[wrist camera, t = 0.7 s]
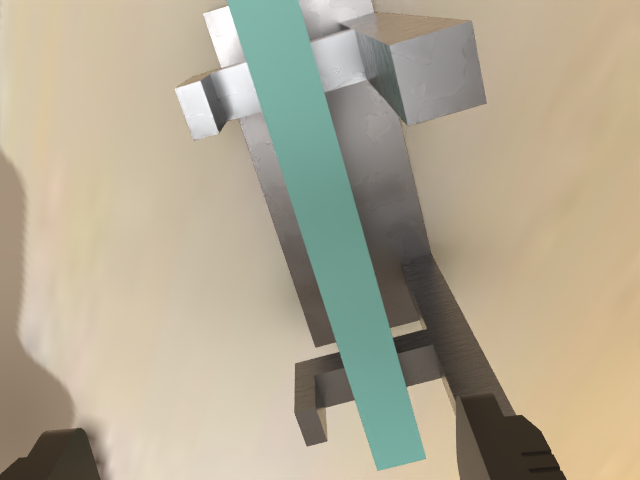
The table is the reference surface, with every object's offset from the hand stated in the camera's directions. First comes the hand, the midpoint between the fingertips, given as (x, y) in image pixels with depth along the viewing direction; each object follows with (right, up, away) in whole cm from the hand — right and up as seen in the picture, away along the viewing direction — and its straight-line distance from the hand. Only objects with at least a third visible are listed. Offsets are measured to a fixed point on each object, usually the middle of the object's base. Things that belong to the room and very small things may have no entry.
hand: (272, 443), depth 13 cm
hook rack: (+2, +9, +25) cm, 26 cm away
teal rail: (+2, +4, +14) cm, 15 cm away
